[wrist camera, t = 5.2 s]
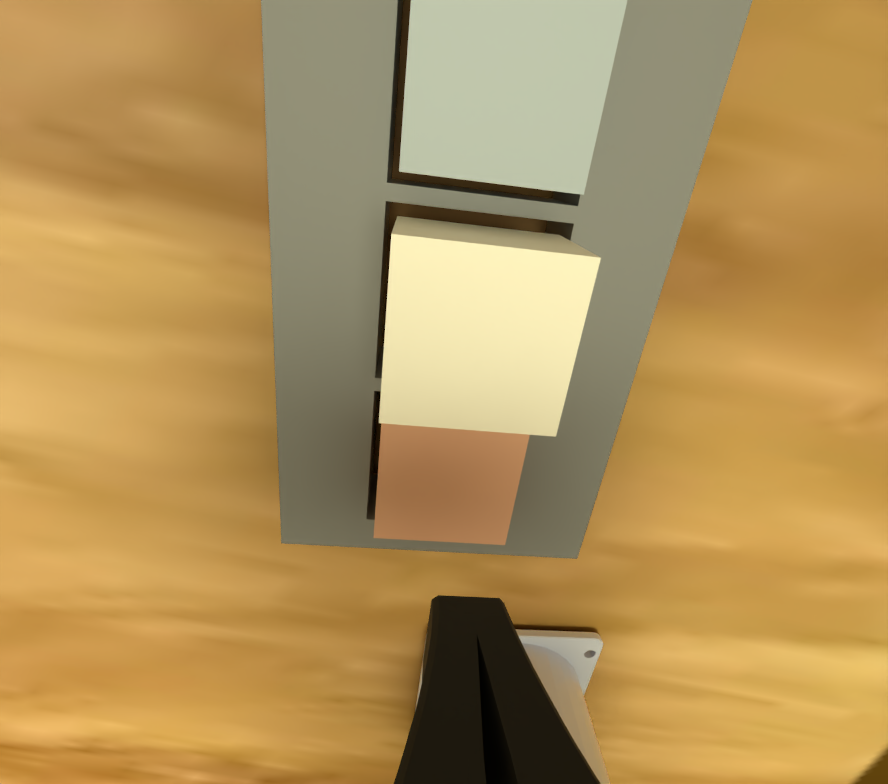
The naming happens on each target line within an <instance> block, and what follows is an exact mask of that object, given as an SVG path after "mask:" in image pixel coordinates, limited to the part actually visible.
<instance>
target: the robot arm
mask: <svg viewBox="0 0 888 784" xmlns="http://www.w3.org/2000/svg"><path fill="white" fill-rule="evenodd" d="M602 647H603V642H602V639H601V637H600V635H599V634H597V633H594V632H576V631H549V630H522V629H515V628H514V625H513V623H512V621H511V619H510V616H509V614H508V612H507V609H506V607H505V605H504V603H503V602H502V600H501V599H500V598H482V597H460V596H437V597H435V598H433V599H432V602H431V609H430V616H429V622H428V629H427V634H426V640H425V647H424V654H423V661H422V667H421V674H420V681H419V688H418V694H417V701H416V708H415V714H414V718H413V722H412V725H411V729H410V732H409V735H408V739H407V742H406V746H405V749H404V753H403V756H402V759H401V763H400V766H399V769H398V773H397V776H396V779H395V782H394V784H611V783H610V780H609V777H608V773H607V770H606V767H605V764H604V760H603V757H602V754H601V751H600V747H599V744H598V741H597V738H596V734H595V731H594V728H593V725H592V721H591V718H590V715H589V712H588V708H587V705H586V702H585V699H584V694H585V691H586V689H587V686H588V684H589V681H590V678H591V676H592V673H593V671H594V668H595V665H596V663H597V660H598V658H599V655H600V652H601V650H602Z"/></svg>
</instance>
